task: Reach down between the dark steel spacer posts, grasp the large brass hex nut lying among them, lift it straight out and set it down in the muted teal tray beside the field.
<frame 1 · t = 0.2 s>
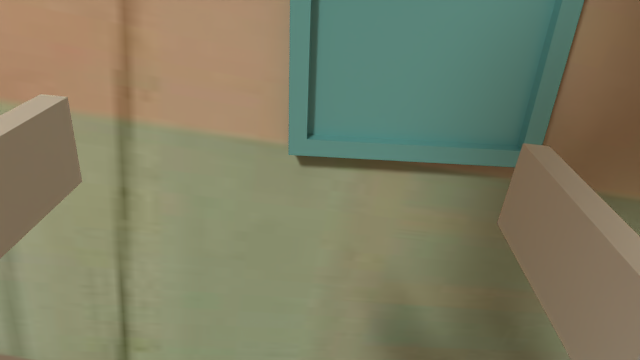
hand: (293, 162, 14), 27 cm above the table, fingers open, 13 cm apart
tray: (426, 30, 38), on the table
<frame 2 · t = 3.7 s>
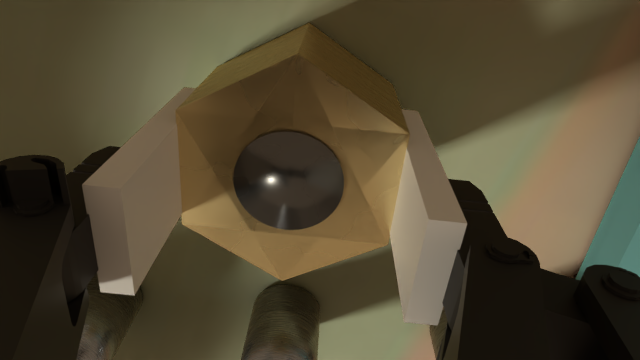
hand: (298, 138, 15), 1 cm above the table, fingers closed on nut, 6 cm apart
nut: (301, 123, 16), on the table, touching gripper
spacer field: (301, 123, 16), on the table
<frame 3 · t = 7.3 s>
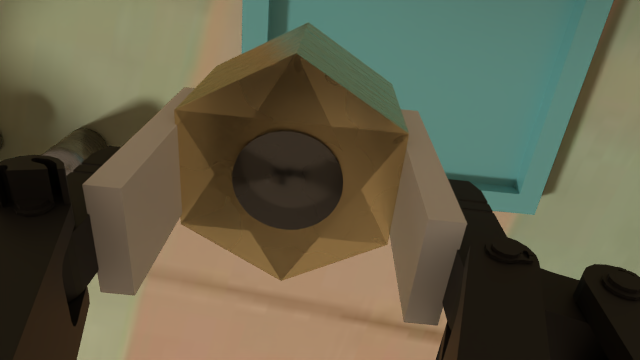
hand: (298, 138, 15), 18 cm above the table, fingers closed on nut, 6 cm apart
nut: (300, 122, 16), point 16 cm above the table, touching gripper
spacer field: (69, 24, 31), on the table
tray: (412, 44, 31), on the table
when the fingers open (3 cm above the table, at t = 11.3 s): nut drops 1 cm, resting on tray.
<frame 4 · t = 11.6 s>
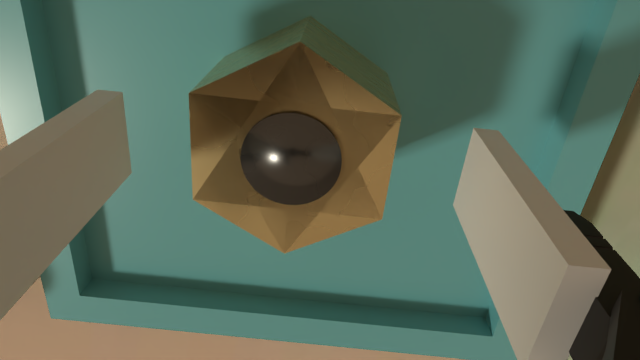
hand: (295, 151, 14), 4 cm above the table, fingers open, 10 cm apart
nut: (302, 109, 18), point 1 cm above the table, touching tray
tray: (305, 105, 18), on the table
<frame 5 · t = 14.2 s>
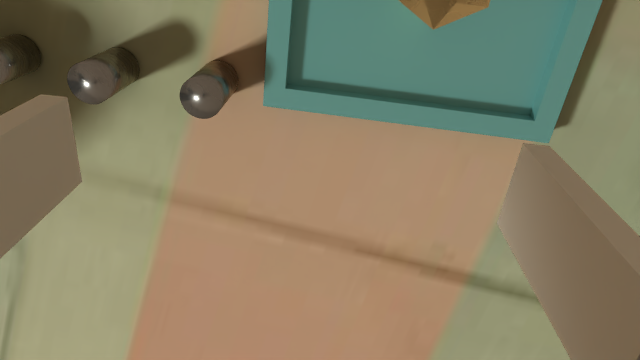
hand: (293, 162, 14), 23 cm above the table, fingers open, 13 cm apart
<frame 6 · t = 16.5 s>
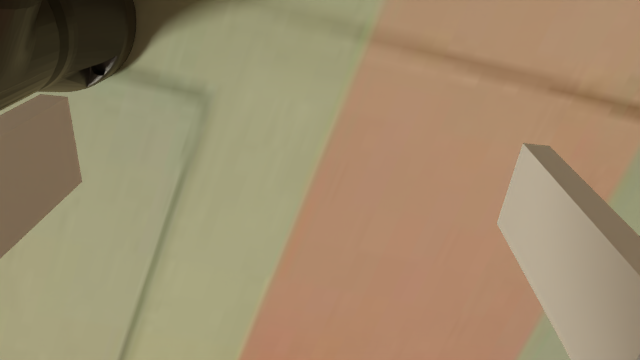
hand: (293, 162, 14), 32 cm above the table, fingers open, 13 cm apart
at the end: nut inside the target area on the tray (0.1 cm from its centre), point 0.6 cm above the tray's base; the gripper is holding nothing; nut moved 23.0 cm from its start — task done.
